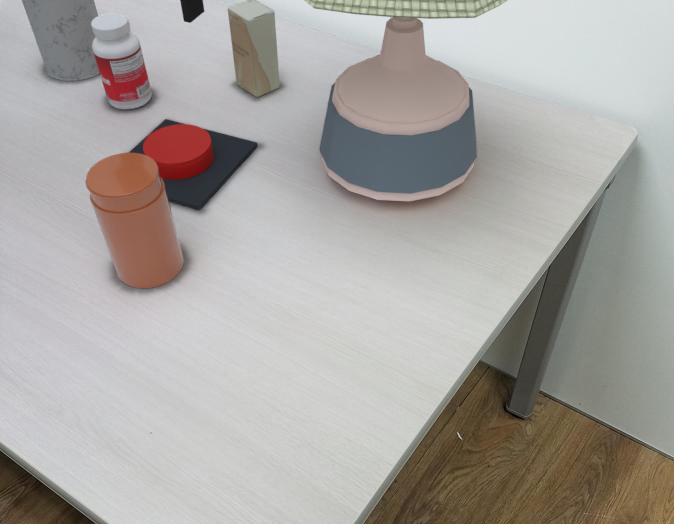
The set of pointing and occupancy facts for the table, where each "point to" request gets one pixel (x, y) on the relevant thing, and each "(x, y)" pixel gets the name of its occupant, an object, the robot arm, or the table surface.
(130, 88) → the pill bottle
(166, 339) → the table surface
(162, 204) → the jar
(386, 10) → the desk lamp
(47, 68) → the gray plant pot
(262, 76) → the box
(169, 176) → the lid
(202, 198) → the coaster
